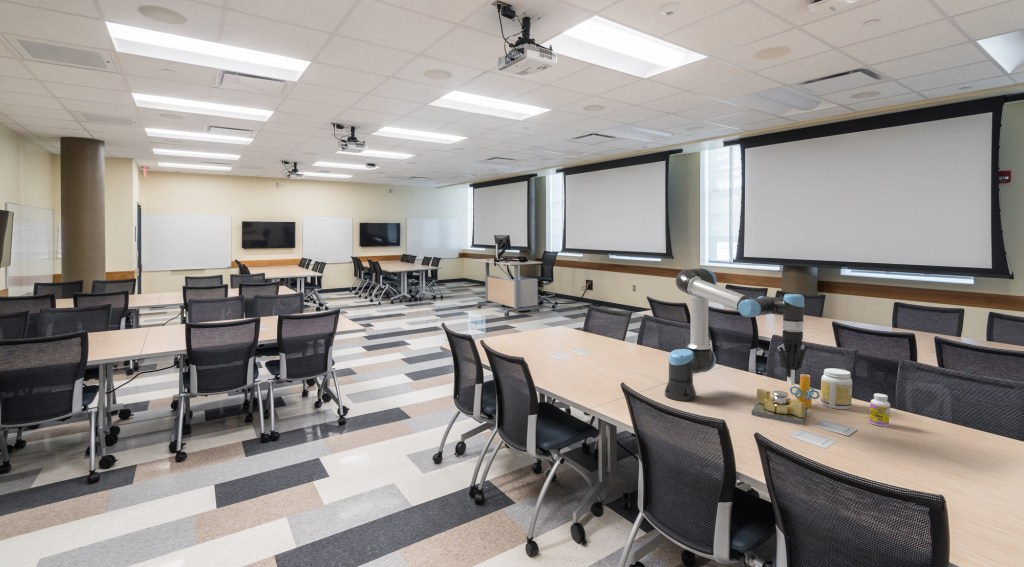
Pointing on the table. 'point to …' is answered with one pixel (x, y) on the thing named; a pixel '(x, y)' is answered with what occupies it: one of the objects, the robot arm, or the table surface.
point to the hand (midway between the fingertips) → (790, 384)
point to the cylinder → (804, 391)
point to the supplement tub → (836, 388)
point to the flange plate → (779, 400)
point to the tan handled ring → (790, 407)
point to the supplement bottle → (879, 410)
